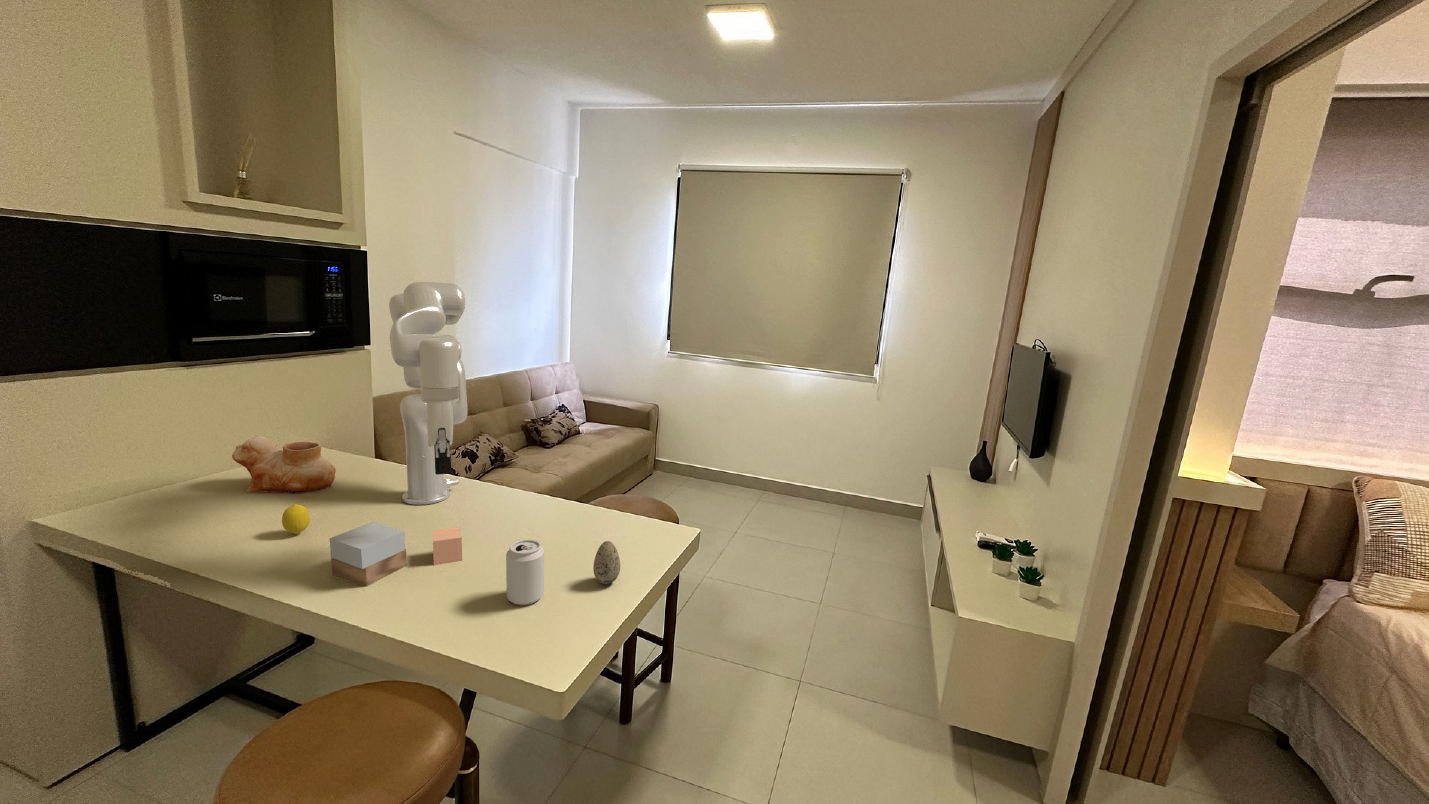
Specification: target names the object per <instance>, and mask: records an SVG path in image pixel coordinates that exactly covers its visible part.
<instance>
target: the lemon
mask: <svg viewBox="0 0 1429 804" xmlns="http://www.w3.org/2000/svg"><path fill="white" fill-rule="evenodd" d="M281 523H282V524H281V525H282V527H283V528H284V530H285V531H287V532H288V533H291V534H295V535H297V536H298V535H300V534H301V533H302V532H303V531H305V530H306V529H308V527H309V525H310V523H311V514H310V512H309V511H308V508H307V507H305V506H303V505H301V504H297V503H293V504H292V505H291V506H288V507H287V508H286V509H284V511H283V513H282V516H281Z"/></svg>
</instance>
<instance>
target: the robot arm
mask: <svg viewBox="0 0 1429 804" xmlns="http://www.w3.org/2000/svg"><path fill="white" fill-rule="evenodd" d="M388 308H389V315H390V317H391V320H392V325H391V328H390V332H389V343H390V351H391V356H392V360H393V361H394V363H395V364H396V365H398V366H399V367H402V369H403V377H404V378H403V379H404V381H405V384H406V385H407V387H408V388H411V389H416V390H419V389H420V392H421V393H414V394H409V395H406V396H405V397H403V398H402V399H401V401H400V404H399V411H400V416H401V420H402V425H403V431H404V441H405V457H406V458H405V459H406V477H407V478H406V480H407V482H406V483H407V491H405V492H404V493H403V494H402V496H401V499H402V501H403V503H405V504H409V505H414V506H416V505H417V506H418V505H419V506H420V505H422V506H423V505H431V504H436V503H439V502H442V501H444V500H446V499H448V498H449V497H450V495H451V492H450V489H449V488H450V487H452V486H453V487H454V486H457V485H459V484H460V481H459V479H458V478H453V479H450V478H444V475H448V474H452V456H451V455H450V454H451V453H450V451H451V450H450V447H451V446H452V445H453V439H454V425H459V424H463V423H464V422H466V420H467V418H468V397H467V382H466V371H465V366H464V362H463V361H462V360H461V358H462V344H461V343H460V341H458V338H456V336H454V335H449V334H437V333H439V332H441V331H442V330H443V328H444V327H445V326H451V325H452V326H453V325H455V324H457V323H459V320H460V319H461V318H462V315H463V314H464V312H465V308H466V297H465V294H464V292H463V289H462V288H461V287H460V286H459V285H457V284H455V283H448V282H435V281H432V282H431V281H416V282H415V281H414V282H412V283H410V284H408V285H407V286H406V287H405V288H404V290H403V293H398V294H394V295H393V296H391V297H390V299H389V303H388Z"/></svg>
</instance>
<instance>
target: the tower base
mask: <svg viewBox="0 0 1429 804" xmlns="http://www.w3.org/2000/svg"><path fill="white" fill-rule="evenodd" d="M330 561H331V574H332V575H331V576H332V577H333V578H337V579H340V580H344V581H347V582H351V583H354V584H356V585H357V584H358V585H361V586H364V587H368V586H371V585H373V584H375V583H377V582H378V581H380V580H382V579H383V578H386V577H388V576H390V575H392V574H393V573H395V572H397V571H399V570H401V569H403V568H405V567H407V565H408V563H407V549H406V548H405V550H404V551H402V552H399V553H397V554H395V555H393V556H390V557H388V558H386V559H384V560H381V561H379V562H377V563H375V564H373V565H370V566H368V567H366V568H364V569H361V568H358V567H355V566H353V565H350V564H347V563H344V562H342V561H339V560H336V559H333V558H331V557H330Z"/></svg>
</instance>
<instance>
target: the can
mask: <svg viewBox="0 0 1429 804" xmlns="http://www.w3.org/2000/svg"><path fill="white" fill-rule="evenodd" d="M505 567H506V568H505V570H506V572H505V573H506V574H505V575H506V577H505V579H506V583H505V584H506V585H505V586H506V598H507V600H508V601H510V603H512V604H514V605H516V606H528V605H532V604H534V603H536V602H537V601H539V600H540V599H541V598H542V597H543V596H544V593H545V550H544V548H543V547H542V543H541V542H539V541H538V540H536V539H531V538H530V539H521V540H516V541H514V542H512V543H511V544H510V545H509V548H508V551H506V554H505Z"/></svg>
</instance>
